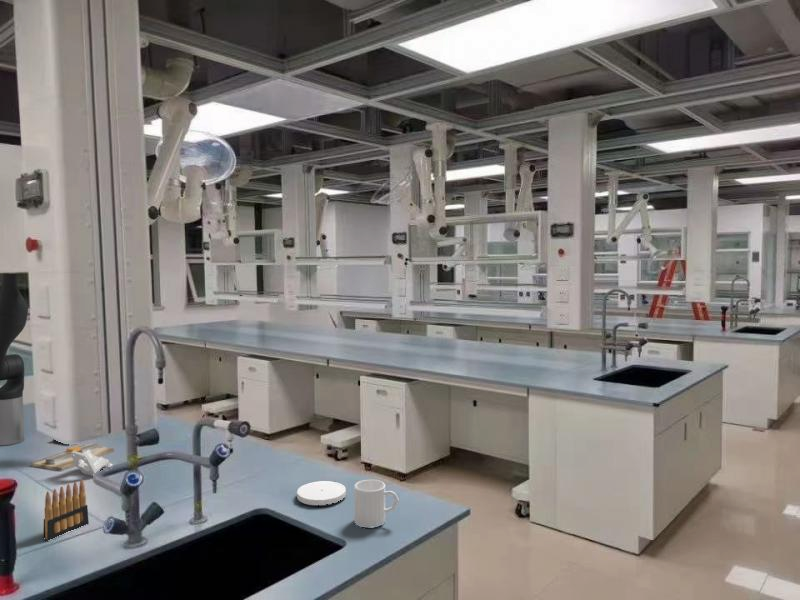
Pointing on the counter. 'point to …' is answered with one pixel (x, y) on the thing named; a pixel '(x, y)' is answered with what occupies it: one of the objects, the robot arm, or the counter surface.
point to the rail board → (68, 462)
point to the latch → (73, 449)
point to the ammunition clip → (65, 511)
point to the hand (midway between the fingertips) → (72, 408)
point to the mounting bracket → (89, 462)
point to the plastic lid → (321, 493)
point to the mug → (371, 502)
